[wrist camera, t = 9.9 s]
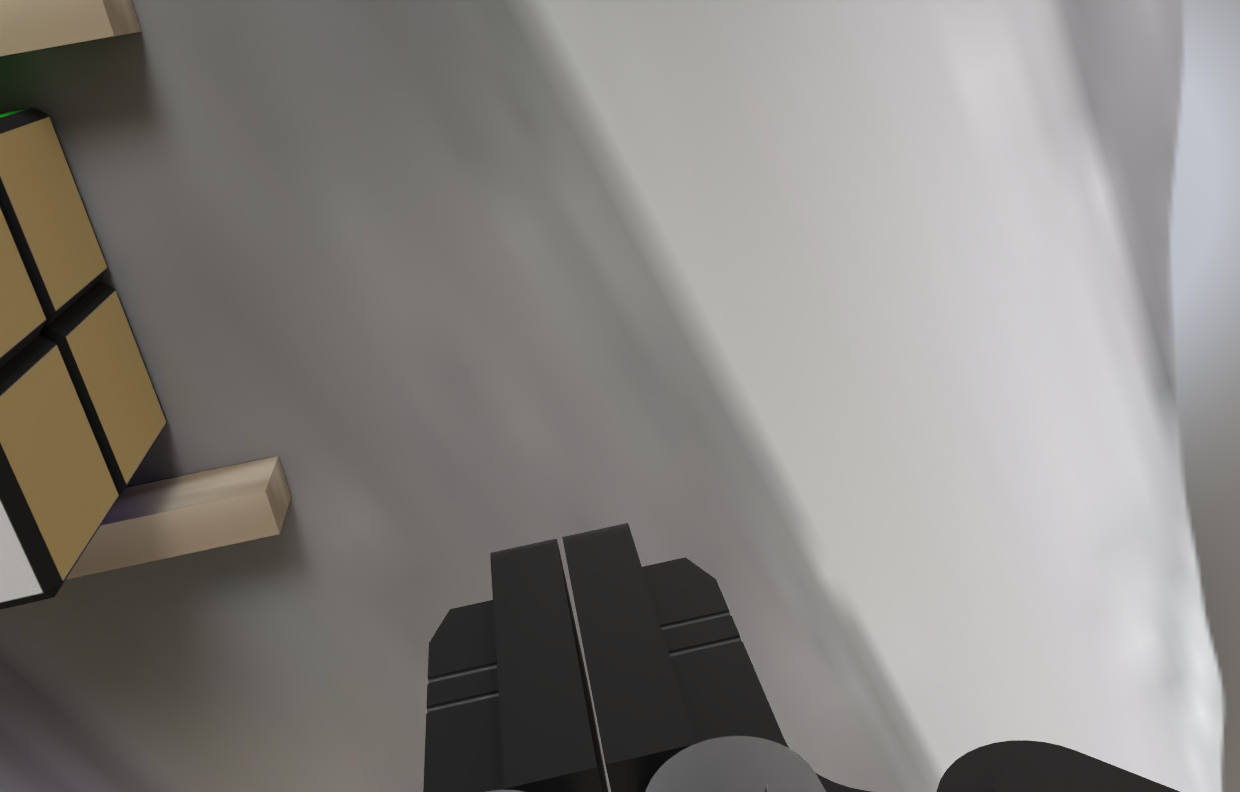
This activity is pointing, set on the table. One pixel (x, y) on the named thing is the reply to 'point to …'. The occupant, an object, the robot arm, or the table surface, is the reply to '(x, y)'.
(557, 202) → the table surface
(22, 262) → the puzzle cube
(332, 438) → the table surface
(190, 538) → the birch bay
